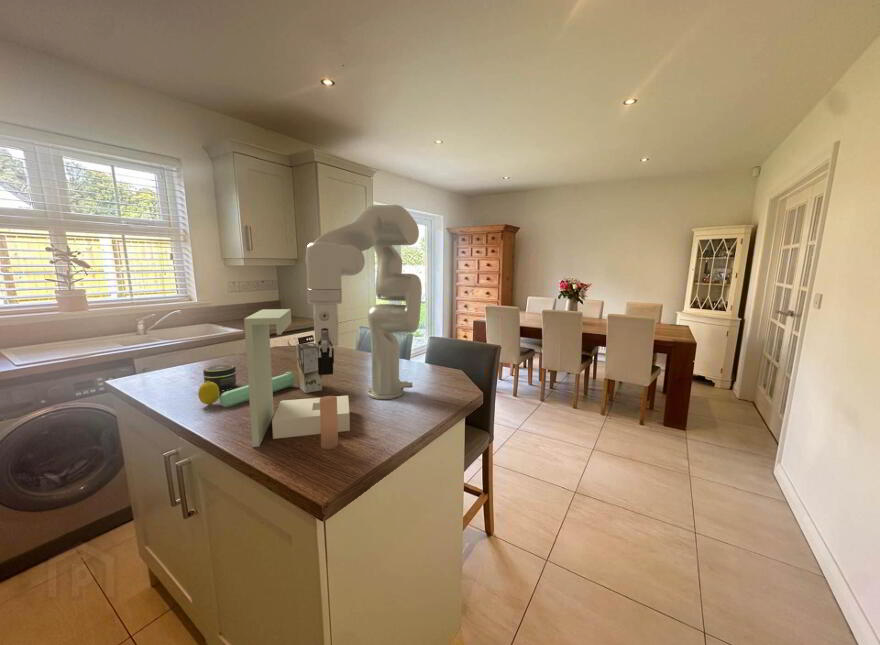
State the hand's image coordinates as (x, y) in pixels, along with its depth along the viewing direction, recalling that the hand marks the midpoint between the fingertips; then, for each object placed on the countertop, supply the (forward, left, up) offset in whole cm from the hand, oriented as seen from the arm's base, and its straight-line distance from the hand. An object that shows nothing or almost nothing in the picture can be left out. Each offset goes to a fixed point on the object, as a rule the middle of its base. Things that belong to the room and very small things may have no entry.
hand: (326, 368), depth 84 cm
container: (+24, -42, -20) cm, 53 cm away
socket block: (+4, -14, -20) cm, 25 cm away
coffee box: (+8, -46, -20) cm, 51 cm away
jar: (+39, -54, -20) cm, 70 cm away
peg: (0, 0, -20) cm, 20 cm away
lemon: (+37, -36, -20) cm, 55 cm away
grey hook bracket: (+14, -14, -20) cm, 28 cm away
